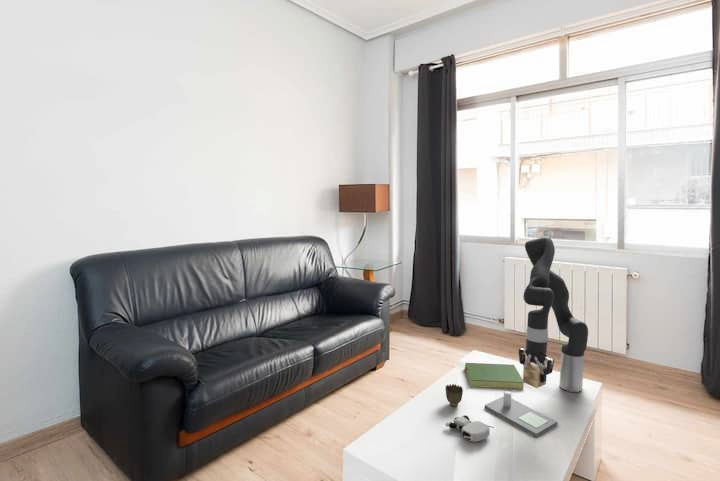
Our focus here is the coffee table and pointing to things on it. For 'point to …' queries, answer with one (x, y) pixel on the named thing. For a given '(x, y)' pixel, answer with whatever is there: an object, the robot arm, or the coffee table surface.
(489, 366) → the hardcover book
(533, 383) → the cardboard box
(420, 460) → the coffee table surface
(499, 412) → the post board
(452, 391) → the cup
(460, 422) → the robot toy
